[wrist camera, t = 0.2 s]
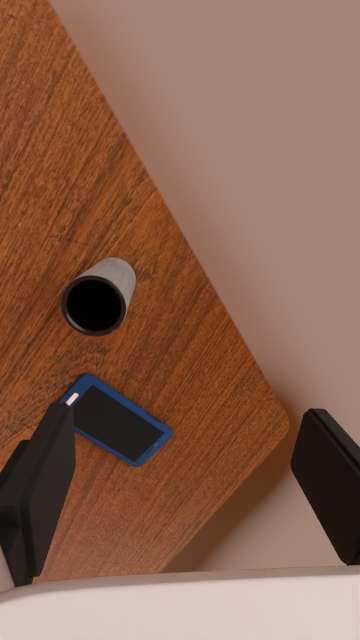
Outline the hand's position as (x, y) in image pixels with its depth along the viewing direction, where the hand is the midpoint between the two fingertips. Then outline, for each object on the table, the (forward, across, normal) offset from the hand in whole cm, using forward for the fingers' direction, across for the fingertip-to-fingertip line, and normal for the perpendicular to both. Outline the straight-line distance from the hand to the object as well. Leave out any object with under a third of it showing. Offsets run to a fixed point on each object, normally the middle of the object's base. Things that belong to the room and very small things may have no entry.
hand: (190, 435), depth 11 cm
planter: (+21, +6, -2) cm, 22 cm away
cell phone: (+21, +6, +16) cm, 27 cm away
